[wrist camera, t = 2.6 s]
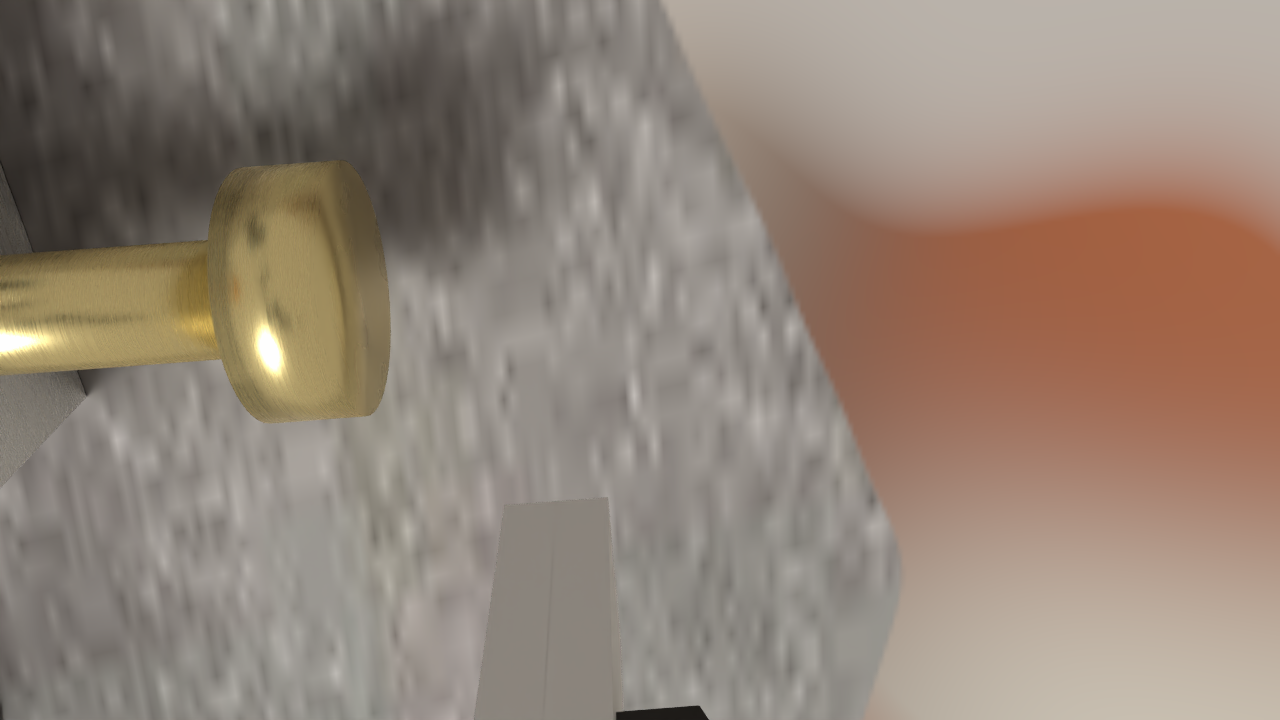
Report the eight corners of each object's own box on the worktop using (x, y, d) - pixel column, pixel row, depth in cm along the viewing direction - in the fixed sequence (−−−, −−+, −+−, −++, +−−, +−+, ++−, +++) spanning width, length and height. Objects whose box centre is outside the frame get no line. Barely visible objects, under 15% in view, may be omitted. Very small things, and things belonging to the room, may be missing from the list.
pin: (-248, 175, 25) (-488, 264, 20) (360, 132, 26) (295, 207, 20) (-143, 387, 28) (-326, 517, 23) (401, 346, 29) (355, 465, 23)
